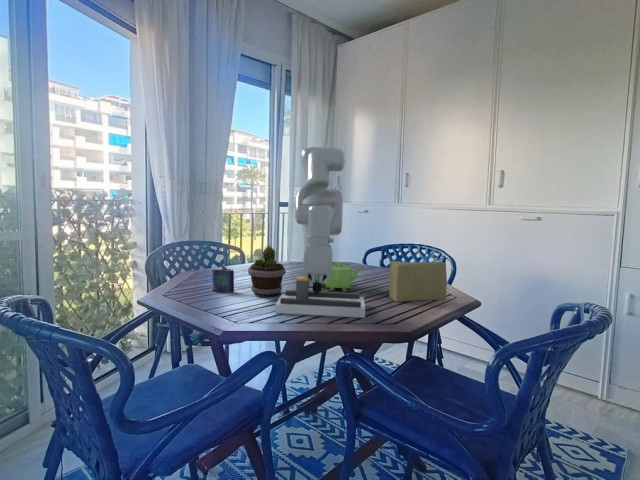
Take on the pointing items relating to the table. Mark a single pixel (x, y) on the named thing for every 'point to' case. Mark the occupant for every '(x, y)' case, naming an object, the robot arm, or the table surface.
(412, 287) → the cheese
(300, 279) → the block
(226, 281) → the flask
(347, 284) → the kettle
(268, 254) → the flowerpot
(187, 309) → the table surface
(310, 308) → the breaker panel
